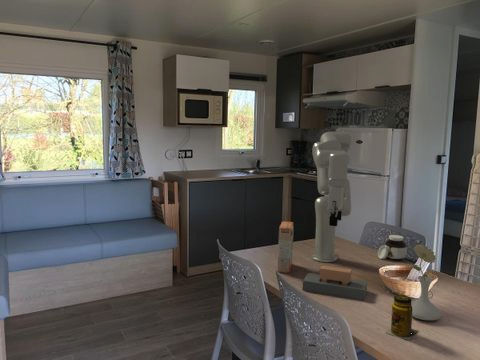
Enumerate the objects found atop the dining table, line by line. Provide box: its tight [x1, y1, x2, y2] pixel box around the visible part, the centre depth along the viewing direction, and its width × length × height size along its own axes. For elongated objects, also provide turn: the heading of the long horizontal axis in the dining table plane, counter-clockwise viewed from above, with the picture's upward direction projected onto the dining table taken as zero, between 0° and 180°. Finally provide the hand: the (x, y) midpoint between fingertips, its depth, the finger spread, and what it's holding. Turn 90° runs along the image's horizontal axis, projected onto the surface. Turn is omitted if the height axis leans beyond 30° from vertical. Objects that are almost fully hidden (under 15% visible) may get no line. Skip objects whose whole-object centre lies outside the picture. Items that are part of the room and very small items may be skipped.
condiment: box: [386, 294, 418, 341], centre depth 132 cm, size 7×8×12 cm
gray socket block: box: [302, 272, 368, 301], centre depth 166 cm, size 10×24×4 cm, turn 67°
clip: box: [319, 265, 353, 286], centre depth 166 cm, size 4×12×9 cm, turn 68°
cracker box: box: [277, 221, 294, 274], centre depth 192 cm, size 14×6×21 cm, turn 168°
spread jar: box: [377, 234, 408, 262], centre depth 208 cm, size 12×11×12 cm
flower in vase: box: [411, 244, 442, 321], centre depth 144 cm, size 13×11×25 cm
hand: (335, 222), depth 173 cm, fingers open, 9 cm apart
